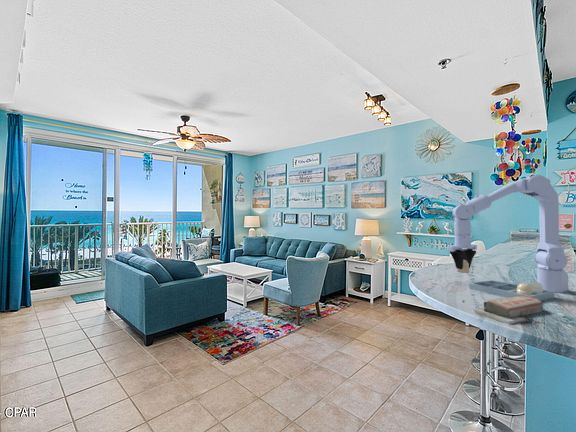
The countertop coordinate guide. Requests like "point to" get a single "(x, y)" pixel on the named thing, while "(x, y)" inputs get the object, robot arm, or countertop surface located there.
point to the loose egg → (464, 267)
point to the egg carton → (507, 290)
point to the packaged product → (510, 309)
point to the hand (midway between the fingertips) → (463, 268)
